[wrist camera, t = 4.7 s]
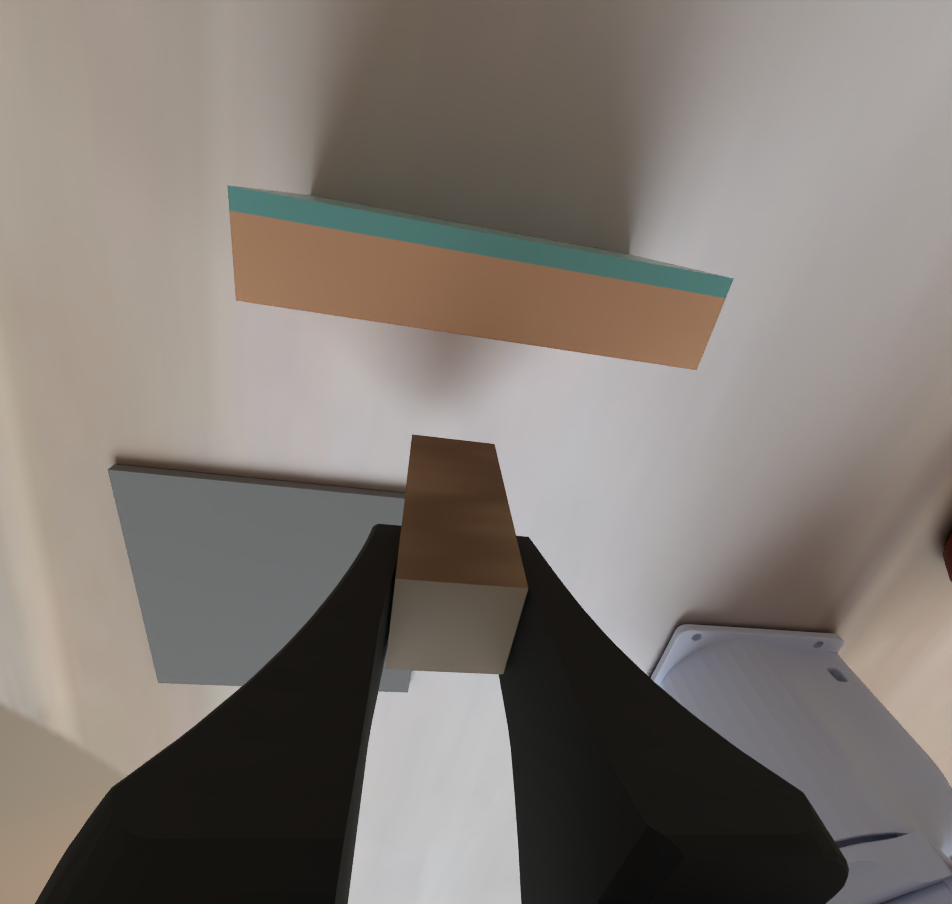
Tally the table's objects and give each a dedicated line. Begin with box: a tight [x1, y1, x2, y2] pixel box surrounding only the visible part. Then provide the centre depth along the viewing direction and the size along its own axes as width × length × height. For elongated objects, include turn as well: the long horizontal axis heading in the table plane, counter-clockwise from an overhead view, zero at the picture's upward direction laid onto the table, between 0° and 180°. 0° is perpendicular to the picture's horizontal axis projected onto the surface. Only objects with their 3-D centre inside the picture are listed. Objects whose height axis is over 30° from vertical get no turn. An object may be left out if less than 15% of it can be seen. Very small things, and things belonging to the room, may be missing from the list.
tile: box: [228, 186, 733, 370], centre depth 12 cm, size 10×2×6 cm, turn 80°
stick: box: [385, 435, 528, 674], centre depth 12 cm, size 2×2×6 cm
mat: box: [108, 464, 411, 692], centre depth 20 cm, size 12×12×1 cm
